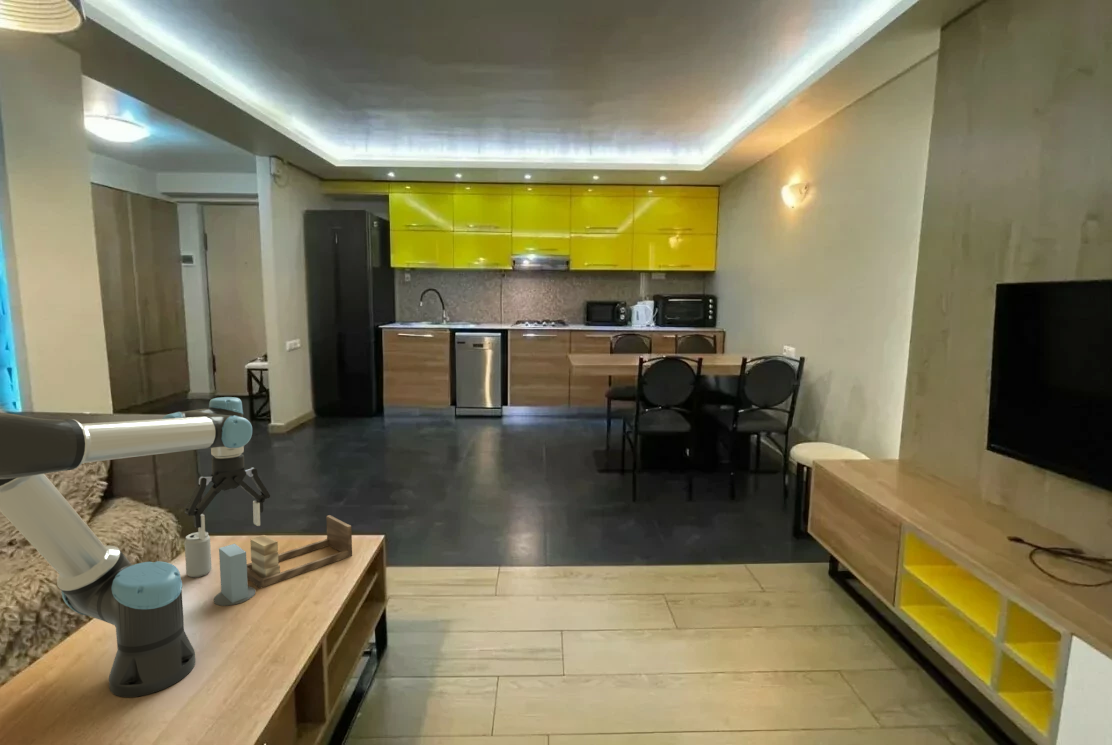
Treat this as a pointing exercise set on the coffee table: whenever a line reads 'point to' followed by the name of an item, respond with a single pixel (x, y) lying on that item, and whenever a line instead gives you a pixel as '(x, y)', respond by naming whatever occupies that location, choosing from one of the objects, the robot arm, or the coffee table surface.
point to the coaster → (224, 601)
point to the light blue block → (233, 572)
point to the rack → (336, 538)
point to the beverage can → (197, 555)
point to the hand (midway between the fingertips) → (230, 531)
